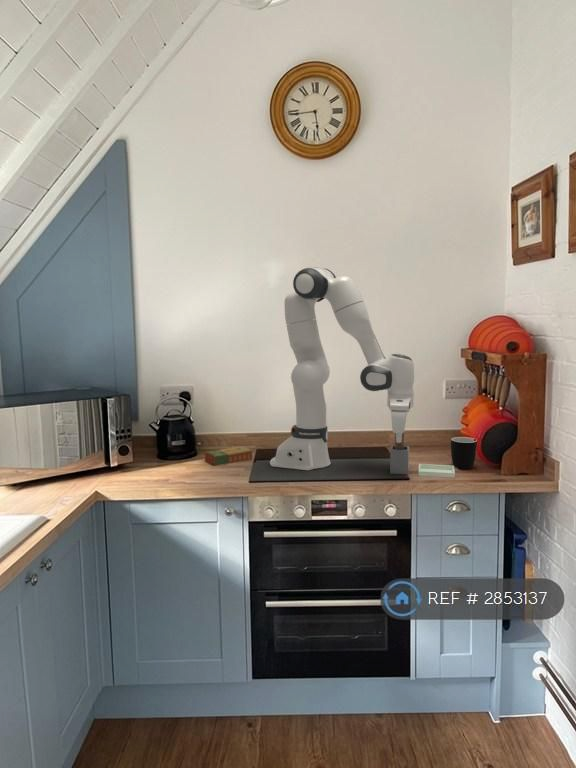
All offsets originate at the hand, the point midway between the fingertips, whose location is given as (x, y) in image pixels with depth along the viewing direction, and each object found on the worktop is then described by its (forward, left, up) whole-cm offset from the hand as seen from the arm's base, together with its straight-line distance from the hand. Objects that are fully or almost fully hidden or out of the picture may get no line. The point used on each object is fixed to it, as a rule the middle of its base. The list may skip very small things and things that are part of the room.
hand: (399, 440), depth 208 cm
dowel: (0, 0, -10) cm, 10 cm away
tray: (+13, +1, -12) cm, 17 cm away
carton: (-64, +5, -12) cm, 66 cm away
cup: (0, 0, -12) cm, 12 cm away
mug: (+22, +14, -12) cm, 28 cm away
